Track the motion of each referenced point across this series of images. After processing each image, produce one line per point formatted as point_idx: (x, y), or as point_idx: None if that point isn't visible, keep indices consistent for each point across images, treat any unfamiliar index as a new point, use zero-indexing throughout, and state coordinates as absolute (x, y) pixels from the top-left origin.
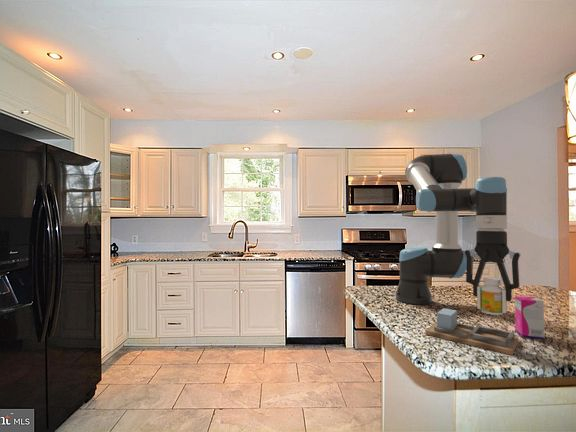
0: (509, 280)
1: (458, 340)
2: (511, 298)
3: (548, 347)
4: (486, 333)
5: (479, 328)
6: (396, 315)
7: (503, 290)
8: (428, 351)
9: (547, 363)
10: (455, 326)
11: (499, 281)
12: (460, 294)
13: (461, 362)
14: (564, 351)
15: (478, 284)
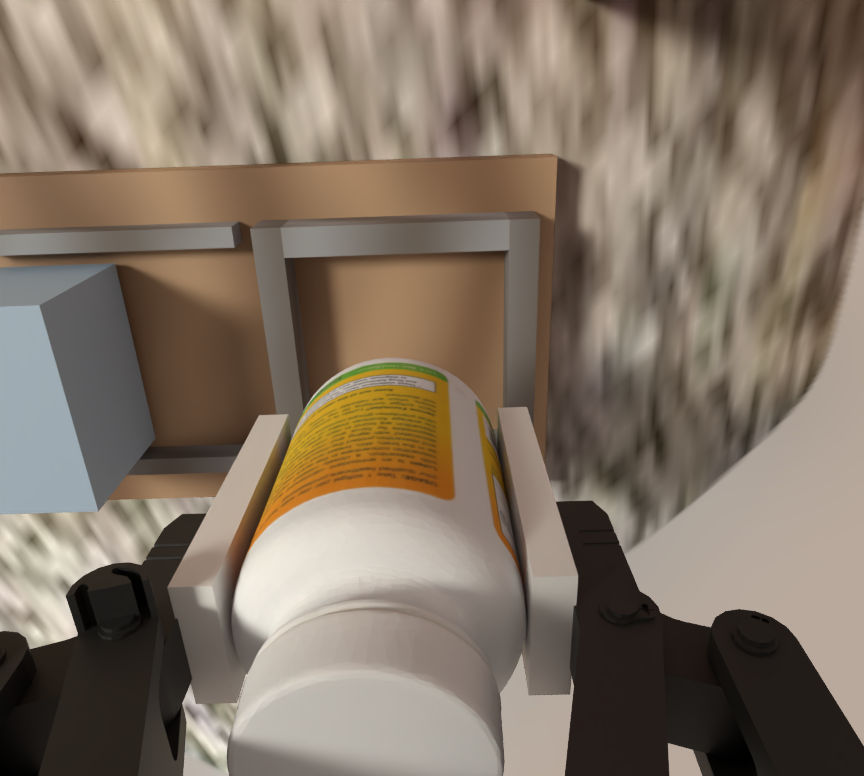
0: (665, 708)
1: None
2: (608, 526)
3: (745, 141)
4: (344, 257)
5: (288, 267)
6: None
7: (543, 684)
8: None
9: (702, 459)
10: (122, 318)
11: (499, 766)
12: None
13: None
14: (837, 153)
15: (174, 657)
